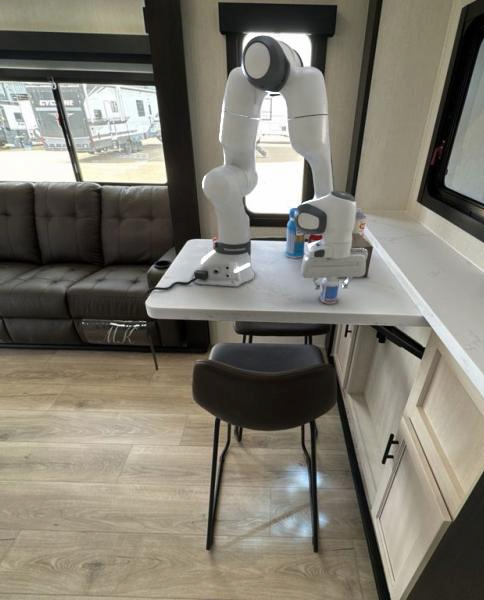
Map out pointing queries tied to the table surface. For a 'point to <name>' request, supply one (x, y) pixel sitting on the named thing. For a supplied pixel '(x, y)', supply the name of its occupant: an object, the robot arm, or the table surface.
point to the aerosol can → (359, 222)
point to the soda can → (314, 238)
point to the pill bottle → (329, 290)
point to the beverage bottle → (294, 238)
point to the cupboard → (362, 243)
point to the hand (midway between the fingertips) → (330, 288)
